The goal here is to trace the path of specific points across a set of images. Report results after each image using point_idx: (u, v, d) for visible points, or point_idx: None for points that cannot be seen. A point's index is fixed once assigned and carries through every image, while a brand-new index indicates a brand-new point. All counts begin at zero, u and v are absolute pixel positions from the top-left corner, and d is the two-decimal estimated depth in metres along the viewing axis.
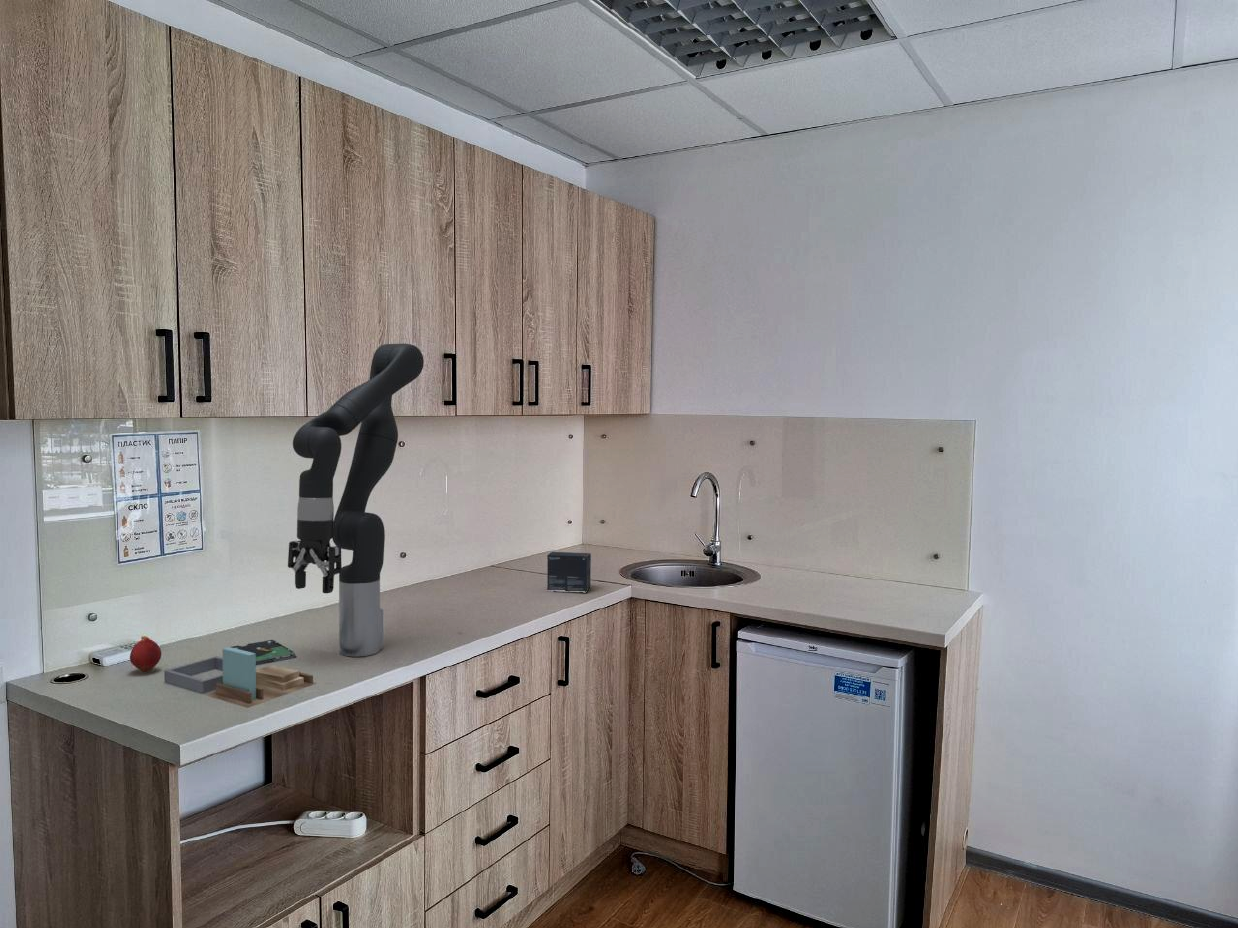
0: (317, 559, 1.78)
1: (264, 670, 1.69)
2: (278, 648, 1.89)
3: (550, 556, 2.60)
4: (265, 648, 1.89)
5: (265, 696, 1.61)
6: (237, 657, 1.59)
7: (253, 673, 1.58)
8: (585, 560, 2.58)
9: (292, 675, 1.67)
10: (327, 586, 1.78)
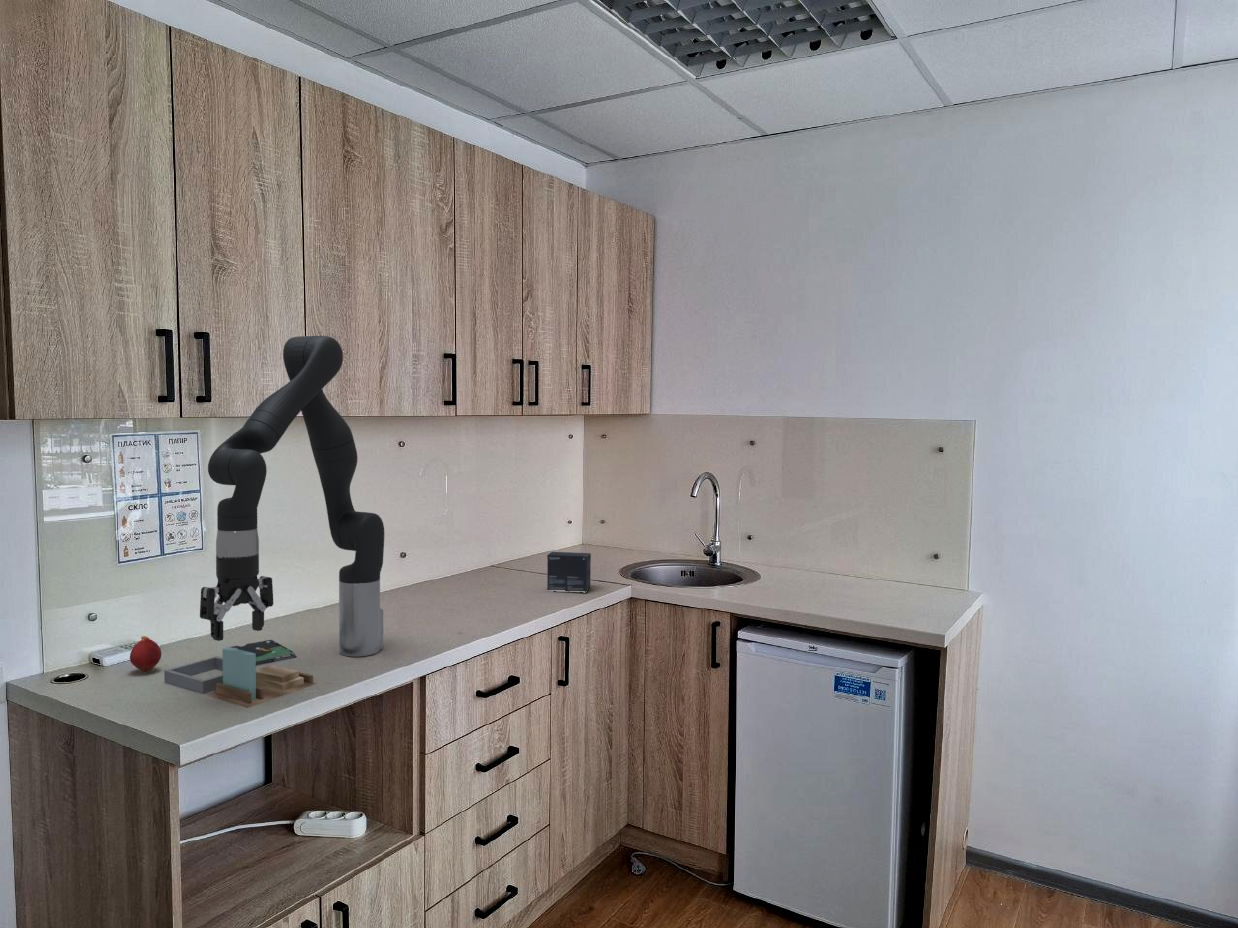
0: (256, 595, 1.61)
1: (264, 670, 1.69)
2: (277, 648, 1.89)
3: (550, 556, 2.60)
4: (265, 648, 1.89)
5: (265, 696, 1.61)
6: (237, 657, 1.59)
7: (253, 673, 1.58)
8: (585, 560, 2.58)
9: (292, 675, 1.67)
10: (262, 621, 1.63)
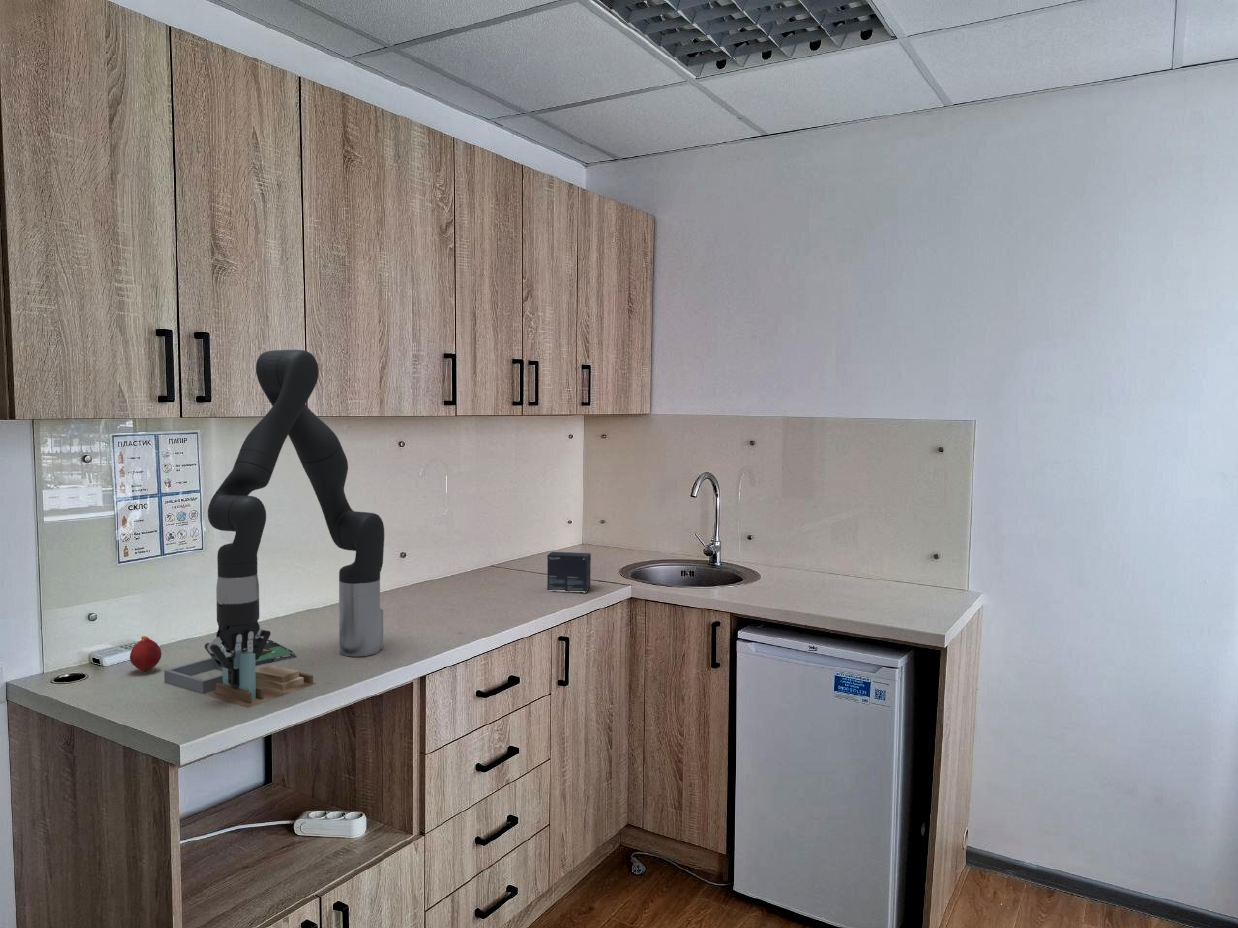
0: (251, 644, 1.60)
1: (264, 670, 1.69)
2: (277, 648, 1.89)
3: (550, 556, 2.60)
4: (264, 648, 1.89)
5: (265, 696, 1.61)
6: None
7: (253, 673, 1.58)
8: (585, 560, 2.58)
9: (292, 675, 1.67)
10: None
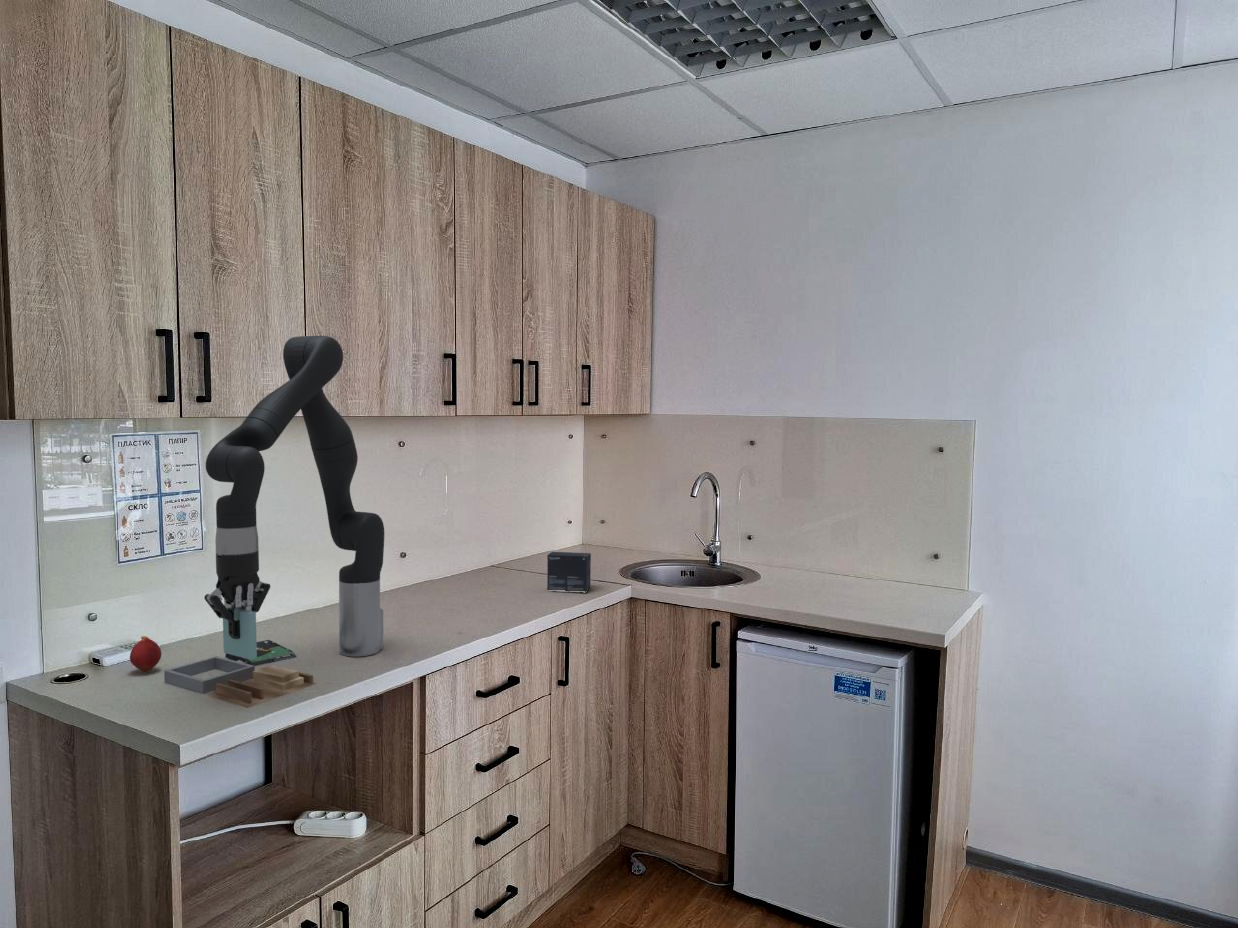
0: (251, 596, 1.60)
1: (264, 670, 1.69)
2: (276, 648, 1.89)
3: (550, 556, 2.60)
4: (264, 648, 1.89)
5: (265, 696, 1.61)
6: None
7: (253, 631, 1.58)
8: (585, 560, 2.58)
9: (292, 675, 1.67)
10: None
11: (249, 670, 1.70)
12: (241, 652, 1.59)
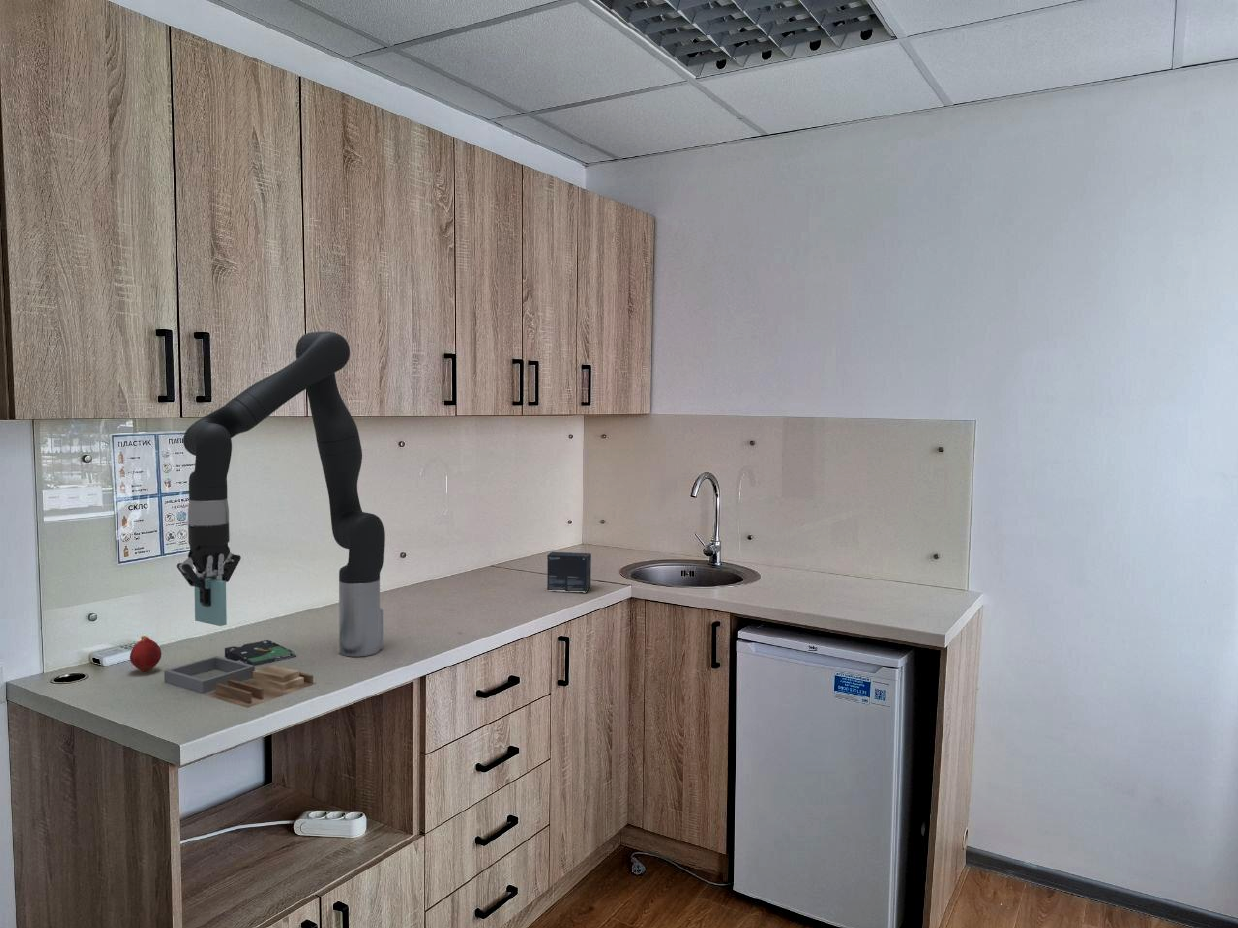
0: (222, 566, 1.68)
1: (264, 670, 1.69)
2: (276, 648, 1.89)
3: (550, 556, 2.60)
4: (263, 648, 1.89)
5: (265, 696, 1.61)
6: None
7: (224, 600, 1.66)
8: (585, 560, 2.58)
9: (292, 675, 1.67)
10: None
11: (249, 670, 1.70)
12: (212, 619, 1.67)
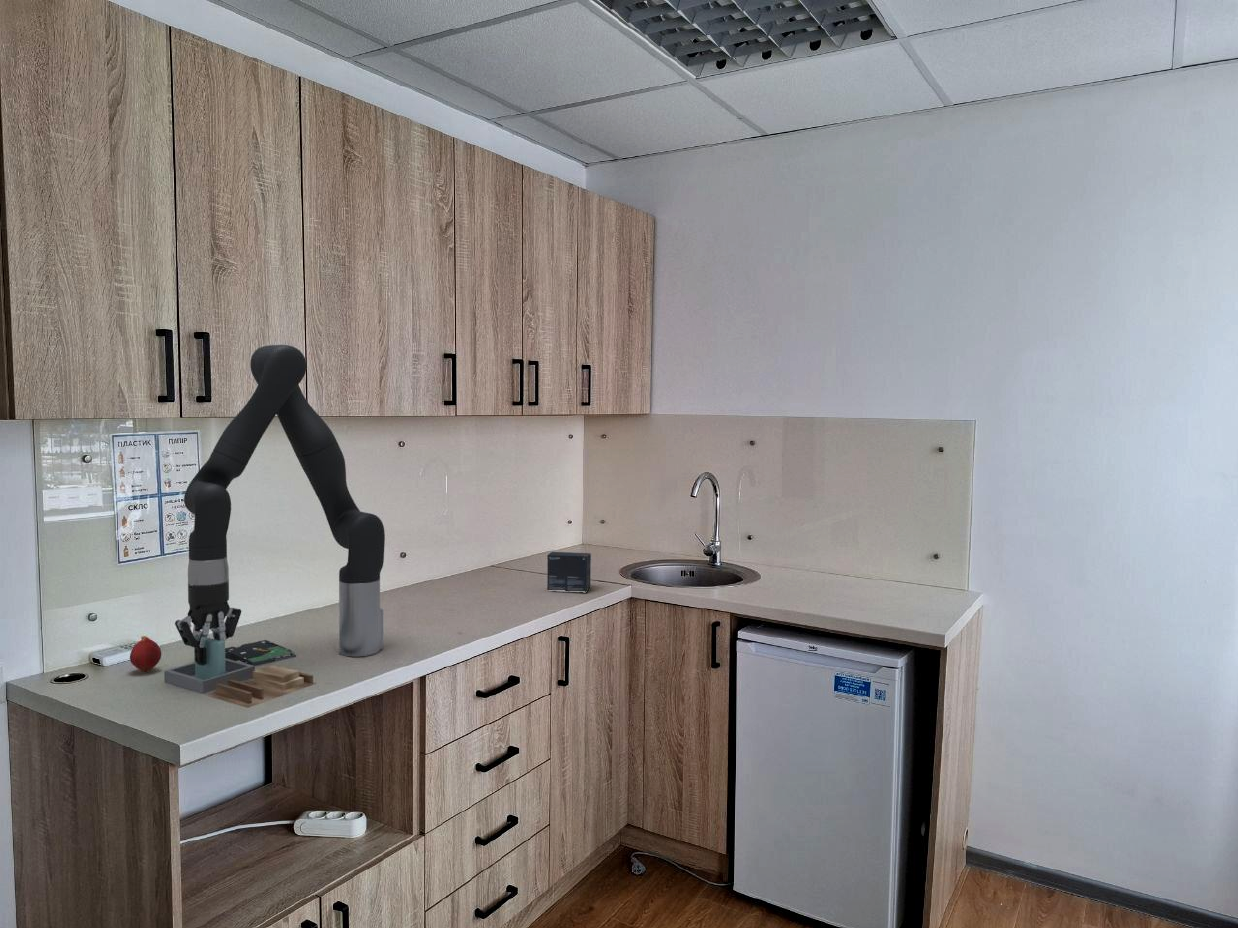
0: (223, 623, 1.70)
1: (264, 670, 1.69)
2: (275, 648, 1.89)
3: (550, 556, 2.60)
4: (262, 648, 1.89)
5: (265, 696, 1.61)
6: (208, 646, 1.68)
7: (222, 660, 1.67)
8: (585, 560, 2.58)
9: (292, 675, 1.67)
10: None
11: (249, 670, 1.70)
12: None
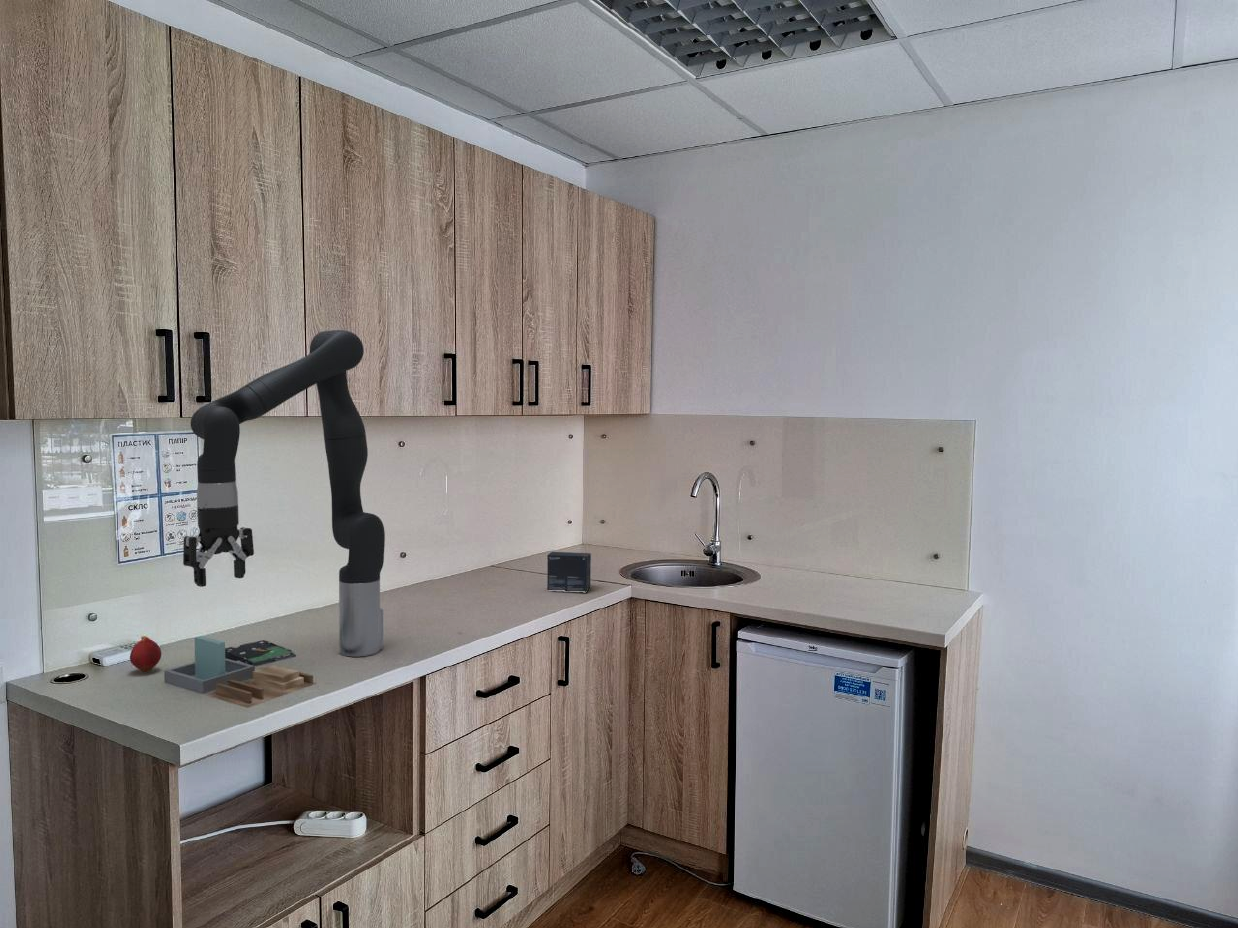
0: (237, 545, 1.70)
1: (264, 670, 1.69)
2: (274, 648, 1.89)
3: (550, 556, 2.60)
4: (261, 648, 1.89)
5: (265, 696, 1.61)
6: (208, 646, 1.68)
7: (222, 660, 1.67)
8: (585, 560, 2.58)
9: (292, 675, 1.67)
10: (244, 570, 1.73)
11: (249, 670, 1.70)
12: None
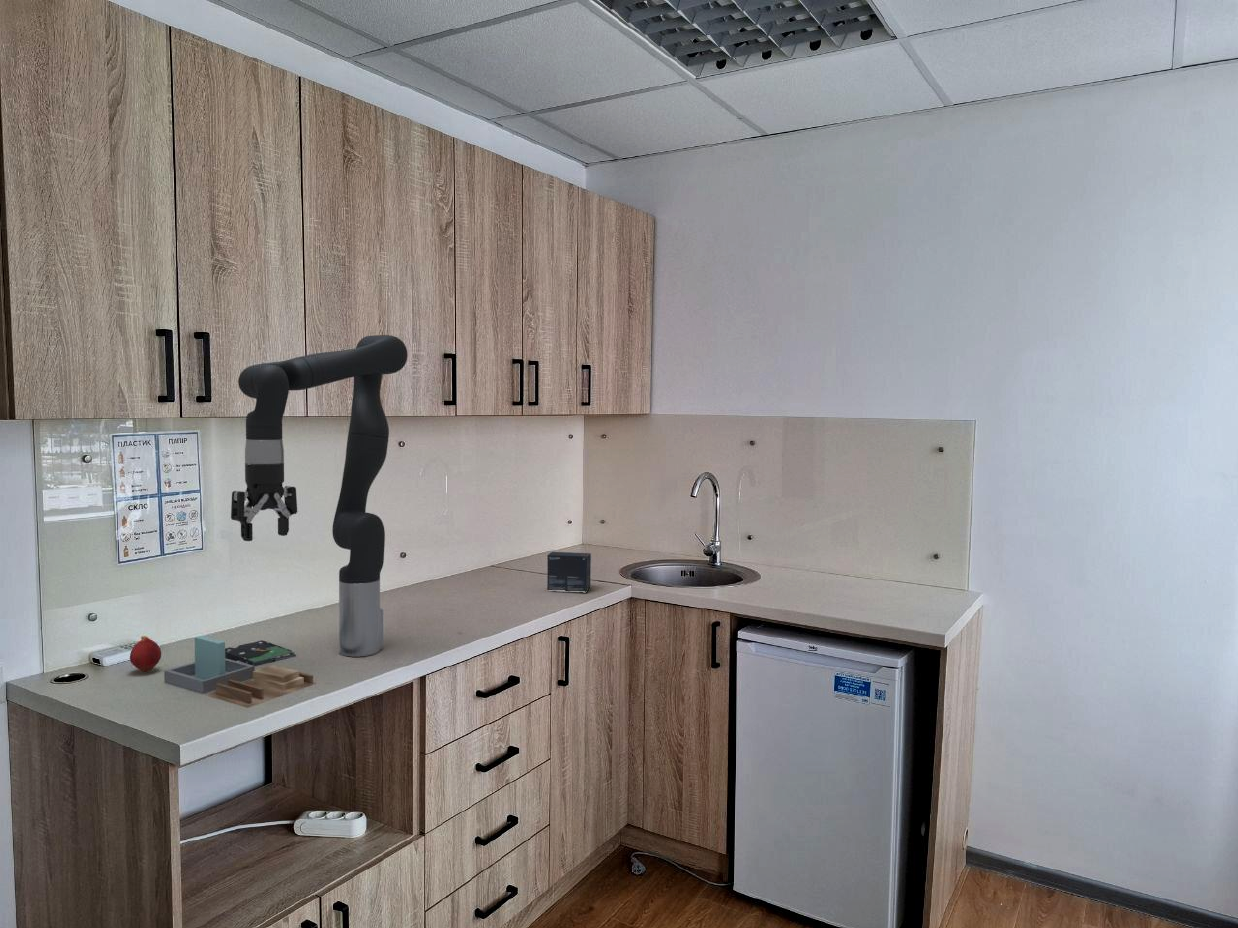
0: (282, 502, 1.74)
1: (264, 670, 1.69)
2: (274, 648, 1.89)
3: (550, 556, 2.60)
4: (260, 648, 1.89)
5: (265, 696, 1.61)
6: (208, 646, 1.68)
7: (222, 660, 1.67)
8: (585, 560, 2.58)
9: (292, 675, 1.67)
10: (287, 527, 1.76)
11: (249, 670, 1.70)
12: None
